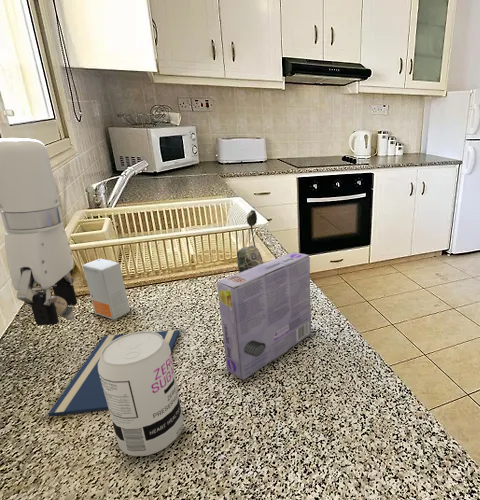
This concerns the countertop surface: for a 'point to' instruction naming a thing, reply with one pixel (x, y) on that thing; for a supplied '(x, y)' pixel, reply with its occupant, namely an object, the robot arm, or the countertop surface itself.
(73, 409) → the towel
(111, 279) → the cosmetic box
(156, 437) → the supplement can
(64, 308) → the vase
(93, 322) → the countertop surface
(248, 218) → the plant with pod
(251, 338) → the cake pan box
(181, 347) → the countertop surface
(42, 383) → the countertop surface
